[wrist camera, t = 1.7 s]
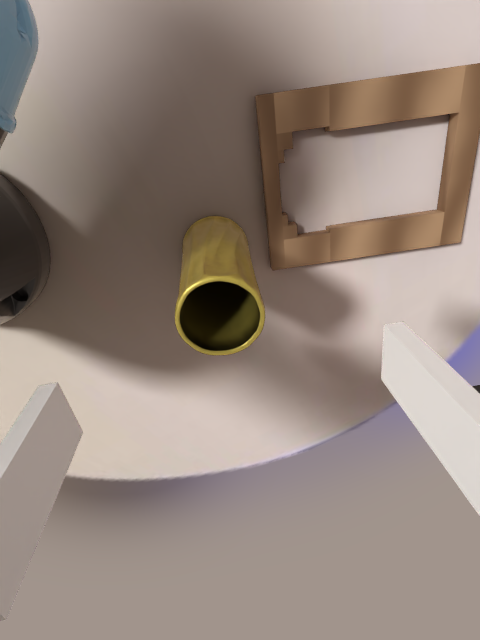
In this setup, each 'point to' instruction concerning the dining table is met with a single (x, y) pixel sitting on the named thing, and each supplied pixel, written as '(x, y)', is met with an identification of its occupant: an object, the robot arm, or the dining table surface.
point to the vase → (218, 289)
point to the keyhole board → (363, 110)
